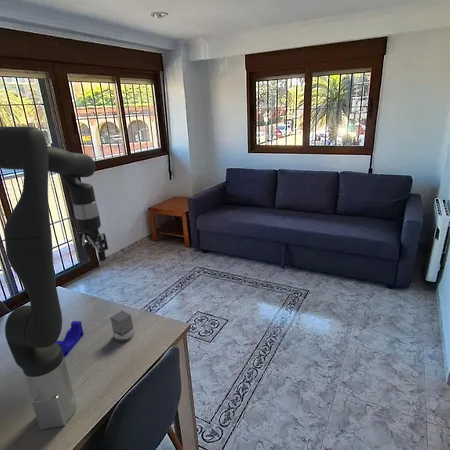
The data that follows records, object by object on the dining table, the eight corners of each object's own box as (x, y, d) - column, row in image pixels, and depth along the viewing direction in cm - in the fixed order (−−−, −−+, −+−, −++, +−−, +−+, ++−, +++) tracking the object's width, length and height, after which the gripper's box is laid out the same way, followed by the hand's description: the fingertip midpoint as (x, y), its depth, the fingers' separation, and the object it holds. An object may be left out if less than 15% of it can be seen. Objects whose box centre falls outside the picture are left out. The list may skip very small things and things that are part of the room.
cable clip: (72, 334, 118) (69, 320, 116) (83, 334, 117) (80, 321, 115) (52, 357, 107) (48, 343, 104) (64, 358, 106) (60, 344, 104)
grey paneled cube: (133, 328, 115) (131, 315, 113) (121, 336, 111) (119, 322, 109) (124, 324, 118) (122, 310, 116) (113, 331, 114) (110, 317, 112)
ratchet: (133, 340, 113) (130, 325, 111) (112, 343, 112) (109, 328, 110) (136, 317, 125) (134, 303, 123) (118, 320, 124) (115, 306, 122)
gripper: (109, 215, 106) (116, 258, 112) (85, 208, 114) (93, 249, 120) (88, 221, 100) (97, 267, 106) (65, 214, 108) (75, 256, 114)
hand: (95, 257), depth 113 cm, fingers open, 8 cm apart
